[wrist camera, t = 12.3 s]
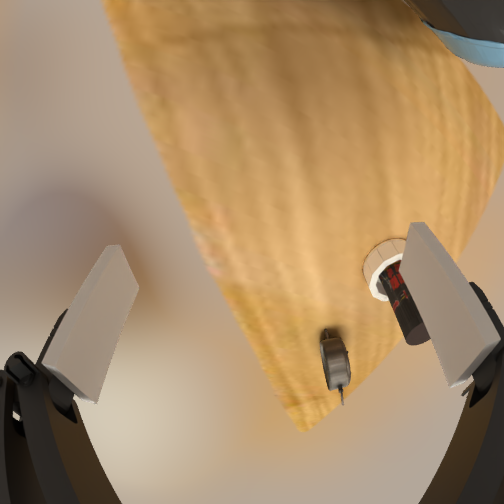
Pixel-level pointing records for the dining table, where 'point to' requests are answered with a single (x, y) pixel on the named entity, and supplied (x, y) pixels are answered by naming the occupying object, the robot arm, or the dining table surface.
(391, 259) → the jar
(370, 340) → the dining table surface
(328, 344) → the alarm clock
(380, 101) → the dining table surface
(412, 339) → the deodorant
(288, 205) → the dining table surface
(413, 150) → the dining table surface
